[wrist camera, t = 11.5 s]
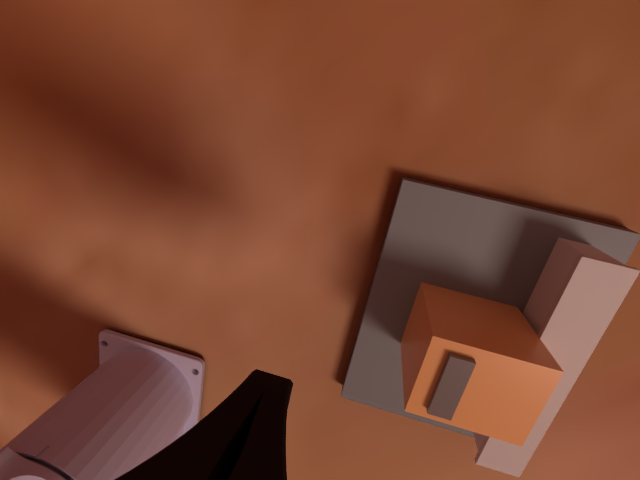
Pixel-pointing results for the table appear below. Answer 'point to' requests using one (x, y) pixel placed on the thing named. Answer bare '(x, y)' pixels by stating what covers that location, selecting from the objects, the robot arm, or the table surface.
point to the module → (475, 365)
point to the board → (490, 291)
